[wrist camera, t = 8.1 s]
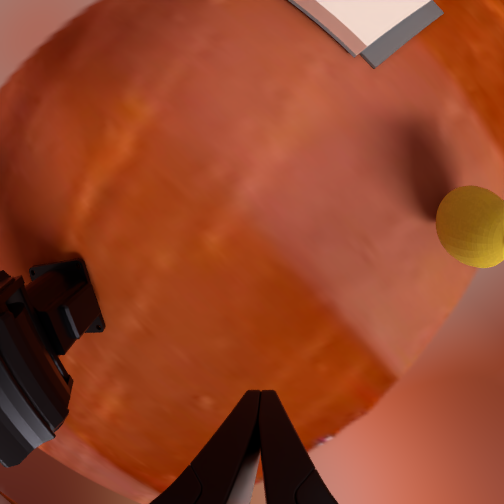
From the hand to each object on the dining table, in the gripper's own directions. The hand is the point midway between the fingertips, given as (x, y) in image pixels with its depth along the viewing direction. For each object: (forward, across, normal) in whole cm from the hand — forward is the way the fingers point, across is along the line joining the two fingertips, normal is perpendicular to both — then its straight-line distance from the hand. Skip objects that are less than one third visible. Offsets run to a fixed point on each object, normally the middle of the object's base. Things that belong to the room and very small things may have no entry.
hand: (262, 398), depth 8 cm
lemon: (+15, -14, -2) cm, 21 cm away
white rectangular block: (+12, -4, -17) cm, 21 cm away
